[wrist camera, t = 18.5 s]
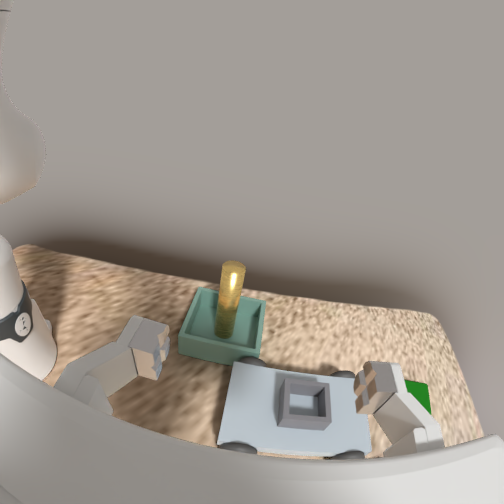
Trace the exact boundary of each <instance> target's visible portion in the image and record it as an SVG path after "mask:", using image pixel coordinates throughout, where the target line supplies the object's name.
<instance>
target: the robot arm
mask: <svg viewBox="0 0 504 504" xmlns="http://www.w3.org/2000/svg"><path fill="white" fill-rule="evenodd" d="M13 1H14V0H0V204H3V203H6V202H8V201H10V200H12V199H13V198H15V197H17V196H19V195H21V194H22V193H24V192H26V191H28V190H30V189H31V188H33V187H35V185H36V183H37V182H38V180H39V178H40V176H41V174H42V171H43V168H44V164H45V156H46V148H45V141H44V137H43V135H42V132H41V130H40V128H39V127H38V125H37V124H36V123H35V122H34V121H33V120H32V119H30V118H29V117H27V116H25V115H24V114H22V113H21V112H20V111H19V110H18V109H17V108H16V107H15V106H14V105H13V103H12V102H11V100H10V99H9V97H8V95H7V93H6V90H5V87H4V84H3V79H2V68H1V64H2V51H3V43H4V37H5V32H6V27H7V23H8V19H9V15H10V11H11V8H12V4H13ZM169 332H170V330H169V325H166V324H163V323H159V322H156V321H153V320H150V319H147V318H143V317H140V316H137V315H133V316H132V317H131V318H130V320H129V321H128V323H127V325H126V326H125V328H124V329H123V331H122V333H121V334H120V336H119V338H118V339H117V341H116V343H115V342H111V343H109V344H107V345H105V346H103V347H101V348H99V349H97V350H95V351H93V352H91V353H89V354H87V355H85V356H83V357H81V358H79V359H77V360H75V361H73V362H71V363H69V364H67V366H66V368H65V369H64V371H63V372H62V374H61V376H60V377H59V379H58V380H57V382H56V384H55V385H54V387H52V386H50V385H48V384H47V383H45V382H43V381H42V380H43V379H44V378H45V377H46V376H47V375H48V374H49V373H50V371H51V370H52V368H53V366H54V364H55V361H56V356H57V348H56V344H55V341H54V339H53V337H52V325H51V323H50V321H49V320H46V319H44V318H43V316H42V314H41V312H40V310H39V308H38V306H37V304H36V302H35V300H34V299H31V298H30V296H29V292H28V290H27V288H26V286H25V284H24V282H23V281H22V280H21V278H20V275H19V272H18V269H17V266H16V262H15V259H14V255H13V252H12V248H11V246H10V244H9V243H8V241H7V240H6V239H5V238H4V237H3V236H1V235H0V504H504V441H503V440H502V439H501V438H500V437H499V436H498V435H496V434H491V435H488V436H485V437H482V438H478V439H475V440H472V441H468V442H465V443H461V444H457V445H453V446H449V447H445V446H444V441H443V437H442V432H441V428H440V424H439V423H438V422H437V421H436V420H435V419H434V418H433V417H432V416H431V415H430V414H429V412H428V411H427V410H426V409H425V408H424V407H423V406H422V405H421V404H420V403H419V402H418V401H417V400H416V398H415V397H414V396H413V395H412V394H411V393H408V392H407V388H406V385H405V381H404V377H403V374H402V370H401V367H400V365H399V364H398V363H388V362H376V361H368V362H366V363H365V364H364V366H363V369H364V370H362V371H360V372H358V374H357V375H356V377H355V380H354V385H353V389H354V393H355V394H356V396H357V399H356V400H355V405H356V413H357V414H374V415H373V416H374V417H375V419H376V420H377V422H378V423H379V425H380V427H381V428H382V430H383V431H384V433H385V434H386V436H387V437H388V439H389V440H390V442H391V443H392V446H390V447H389V448H388V449H386V450H385V451H384V452H383V455H384V457H381V458H368V459H348V460H316V459H295V458H282V457H272V456H263V455H255V454H248V453H242V452H236V451H230V450H225V449H220V448H215V447H210V446H206V445H201V444H197V443H193V442H189V441H185V440H181V439H178V438H174V437H171V436H167V435H164V434H161V433H158V432H155V431H151V430H148V429H145V428H143V427H140V426H137V425H134V424H131V423H129V422H126V421H124V420H121V419H118V418H116V417H114V416H112V413H113V409H112V406H111V405H110V403H109V401H108V399H107V398H108V397H109V396H111V395H112V394H113V393H115V392H116V391H118V390H119V389H121V388H122V387H123V386H125V385H126V384H128V383H129V382H130V381H132V380H133V379H134V378H136V377H137V376H138V375H139V376H142V377H146V378H149V379H153V380H156V381H157V380H158V377H159V375H160V372H161V370H162V362H163V361H165V360H166V358H167V355H168V352H169V348H170V338H169V337H168V334H169Z"/></svg>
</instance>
